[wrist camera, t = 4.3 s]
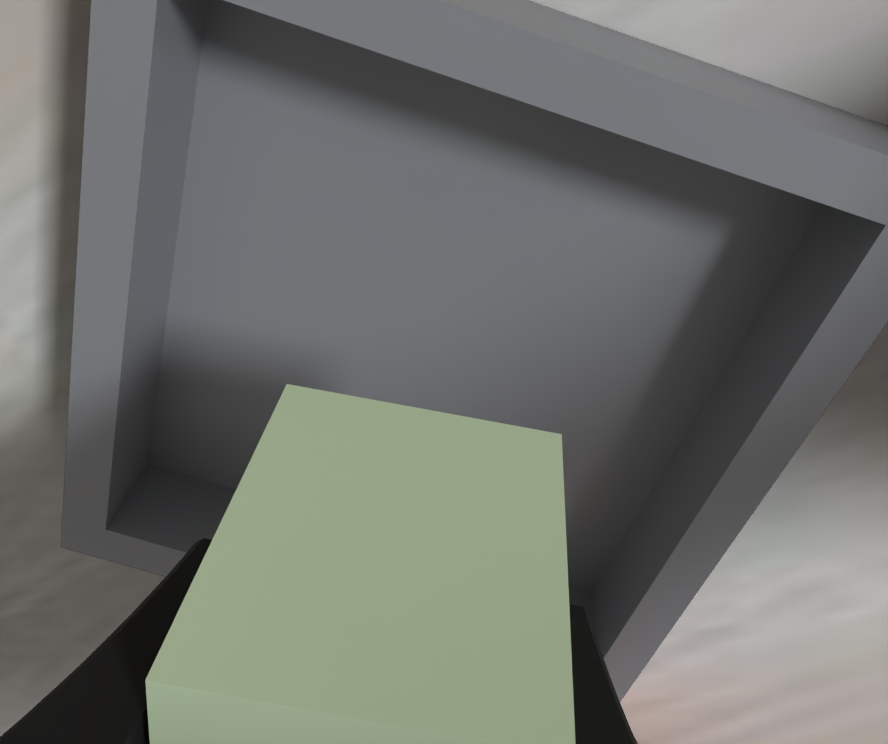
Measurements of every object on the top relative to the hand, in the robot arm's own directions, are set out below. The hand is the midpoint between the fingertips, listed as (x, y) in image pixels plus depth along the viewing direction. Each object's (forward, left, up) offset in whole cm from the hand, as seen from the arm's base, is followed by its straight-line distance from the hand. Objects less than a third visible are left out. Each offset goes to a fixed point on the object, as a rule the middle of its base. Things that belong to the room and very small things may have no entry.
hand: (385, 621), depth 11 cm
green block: (0, 0, -2) cm, 2 cm away
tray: (0, 0, -8) cm, 8 cm away
